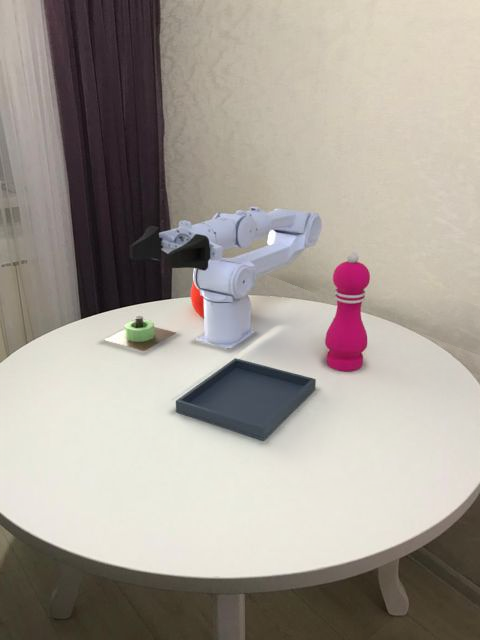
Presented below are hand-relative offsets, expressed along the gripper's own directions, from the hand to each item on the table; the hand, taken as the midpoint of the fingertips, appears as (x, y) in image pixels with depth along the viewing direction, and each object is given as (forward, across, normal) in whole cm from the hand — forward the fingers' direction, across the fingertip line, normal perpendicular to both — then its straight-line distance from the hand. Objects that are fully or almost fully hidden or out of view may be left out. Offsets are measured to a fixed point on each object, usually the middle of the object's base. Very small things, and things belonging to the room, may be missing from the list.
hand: (149, 256), depth 90 cm
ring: (-11, -13, +21) cm, 27 cm away
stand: (-11, -13, +21) cm, 27 cm away
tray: (-2, +17, +21) cm, 27 cm away
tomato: (-30, -8, +21) cm, 37 cm away
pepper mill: (-23, +24, +20) cm, 39 cm away
